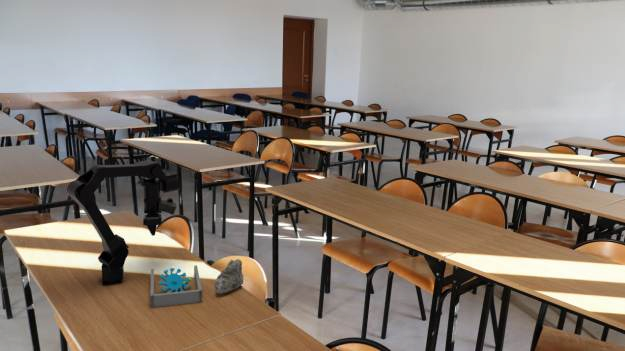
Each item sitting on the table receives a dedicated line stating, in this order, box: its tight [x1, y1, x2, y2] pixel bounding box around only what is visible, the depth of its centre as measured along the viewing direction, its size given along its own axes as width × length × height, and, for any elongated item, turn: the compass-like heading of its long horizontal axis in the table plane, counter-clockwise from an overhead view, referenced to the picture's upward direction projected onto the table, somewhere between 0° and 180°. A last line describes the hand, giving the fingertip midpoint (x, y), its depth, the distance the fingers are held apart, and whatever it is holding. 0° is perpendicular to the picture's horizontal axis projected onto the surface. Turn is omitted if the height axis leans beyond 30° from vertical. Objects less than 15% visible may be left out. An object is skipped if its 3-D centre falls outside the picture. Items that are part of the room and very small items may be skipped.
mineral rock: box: [214, 258, 244, 294], centre depth 162 cm, size 13×11×10 cm
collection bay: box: [149, 264, 203, 308], centre depth 159 cm, size 16×20×4 cm
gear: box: [158, 267, 192, 293], centre depth 159 cm, size 11×6×10 cm
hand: (153, 235), depth 172 cm, fingers closed
